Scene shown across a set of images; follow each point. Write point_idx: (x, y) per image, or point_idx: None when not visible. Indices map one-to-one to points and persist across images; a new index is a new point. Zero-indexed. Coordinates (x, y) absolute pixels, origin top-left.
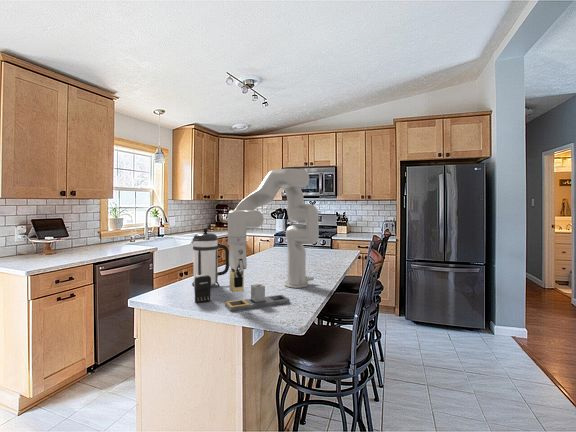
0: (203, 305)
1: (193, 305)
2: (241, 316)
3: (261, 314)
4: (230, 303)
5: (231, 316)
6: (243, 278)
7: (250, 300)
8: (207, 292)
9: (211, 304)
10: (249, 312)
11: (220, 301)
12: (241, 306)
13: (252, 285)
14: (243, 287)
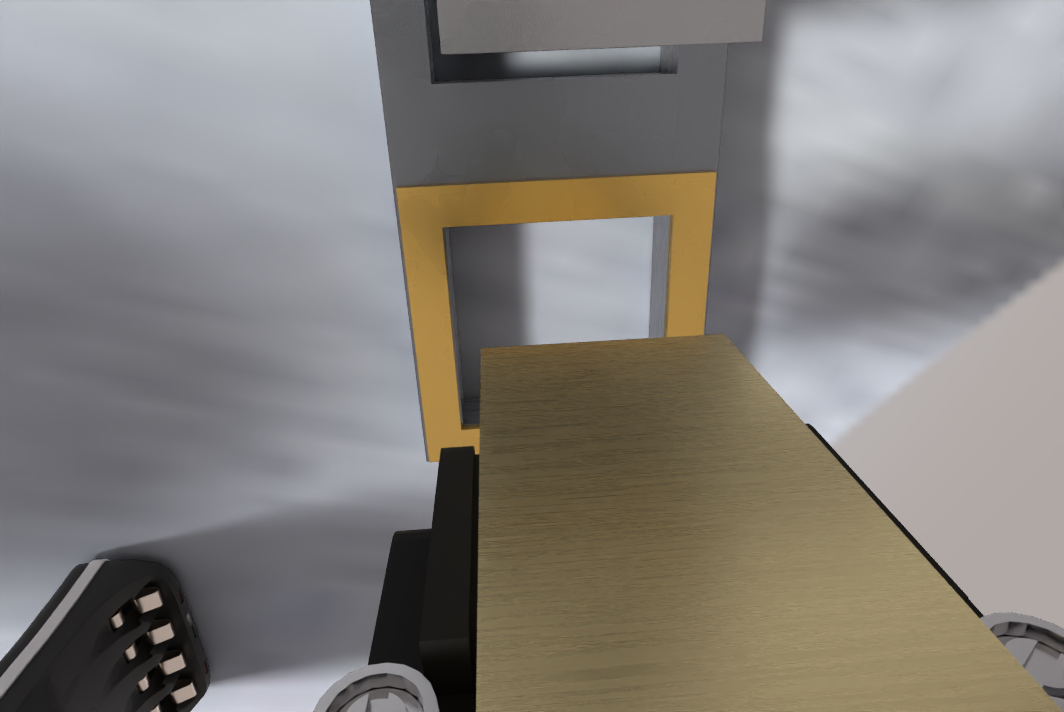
0: (322, 628)
1: (291, 704)
2: (903, 337)
3: (1005, 71)
4: (459, 390)
5: (836, 433)
6: (878, 512)
7: (430, 57)
8: (83, 676)
9: (308, 556)
10: (831, 207)
11: (198, 450)
12: (706, 298)
13: (500, 23)
14: (755, 371)
